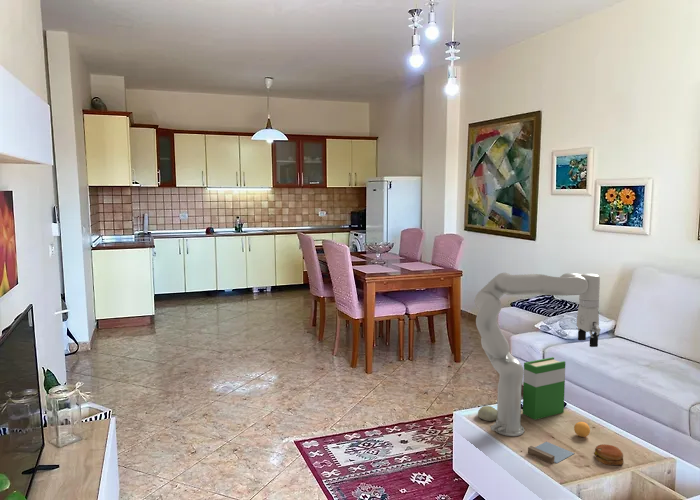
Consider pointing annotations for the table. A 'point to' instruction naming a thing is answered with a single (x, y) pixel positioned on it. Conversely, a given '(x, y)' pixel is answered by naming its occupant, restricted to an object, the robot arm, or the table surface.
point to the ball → (582, 429)
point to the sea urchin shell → (487, 413)
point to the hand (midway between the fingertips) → (587, 343)
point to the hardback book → (543, 388)
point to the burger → (608, 454)
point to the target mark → (555, 451)
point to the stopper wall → (541, 454)
